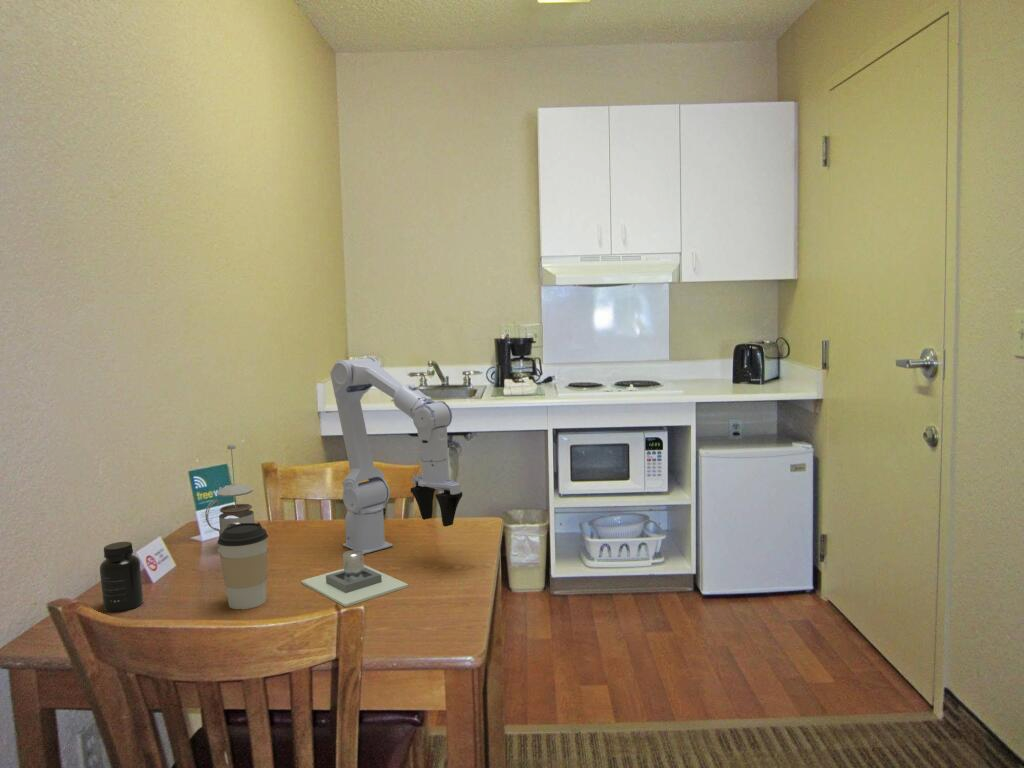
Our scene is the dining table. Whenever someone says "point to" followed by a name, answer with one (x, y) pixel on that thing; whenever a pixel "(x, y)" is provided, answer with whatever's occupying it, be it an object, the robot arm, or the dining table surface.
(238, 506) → the french press
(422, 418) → the robot arm
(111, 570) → the supplement bottle
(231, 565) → the coffee cup
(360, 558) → the key peg
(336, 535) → the dining table surface
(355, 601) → the socket
